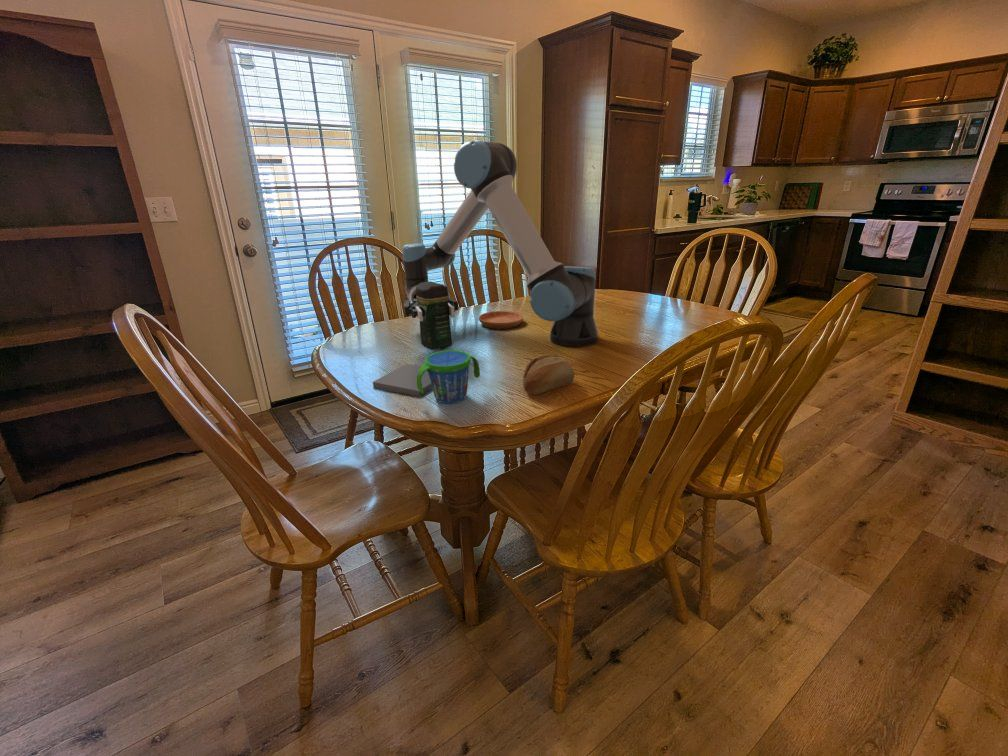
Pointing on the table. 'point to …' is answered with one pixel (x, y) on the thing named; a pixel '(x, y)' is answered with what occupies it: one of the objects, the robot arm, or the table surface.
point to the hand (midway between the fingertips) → (437, 314)
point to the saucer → (501, 319)
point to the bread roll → (547, 374)
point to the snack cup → (448, 374)
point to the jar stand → (404, 381)
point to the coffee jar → (434, 315)
